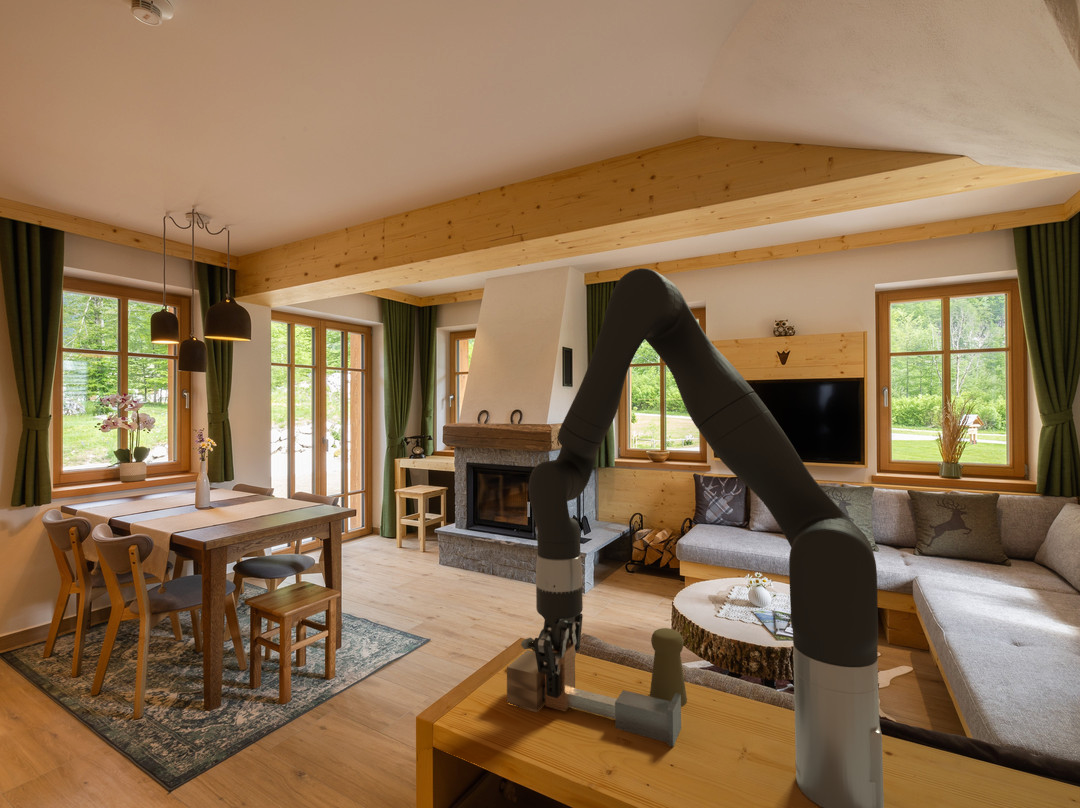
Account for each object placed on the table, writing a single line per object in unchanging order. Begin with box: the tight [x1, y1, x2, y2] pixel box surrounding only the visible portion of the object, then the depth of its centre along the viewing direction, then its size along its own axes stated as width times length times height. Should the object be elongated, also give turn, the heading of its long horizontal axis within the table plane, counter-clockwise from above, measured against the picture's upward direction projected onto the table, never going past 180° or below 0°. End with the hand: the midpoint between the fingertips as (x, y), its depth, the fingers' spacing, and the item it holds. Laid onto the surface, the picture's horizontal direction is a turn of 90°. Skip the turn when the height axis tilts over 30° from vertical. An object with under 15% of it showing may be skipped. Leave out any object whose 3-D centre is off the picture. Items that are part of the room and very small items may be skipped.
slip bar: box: [542, 643, 617, 720], centre depth 84 cm, size 18×4×9 cm, turn 62°
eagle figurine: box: [520, 628, 543, 651], centre depth 102 cm, size 8×7×9 cm
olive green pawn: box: [649, 627, 688, 708], centre depth 87 cm, size 6×6×11 cm
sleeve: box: [614, 689, 682, 748], centre depth 78 cm, size 9×5×5 cm, turn 62°
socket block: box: [506, 649, 545, 713], centre depth 88 cm, size 6×7×6 cm
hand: (560, 688), depth 85 cm, fingers open, 4 cm apart
